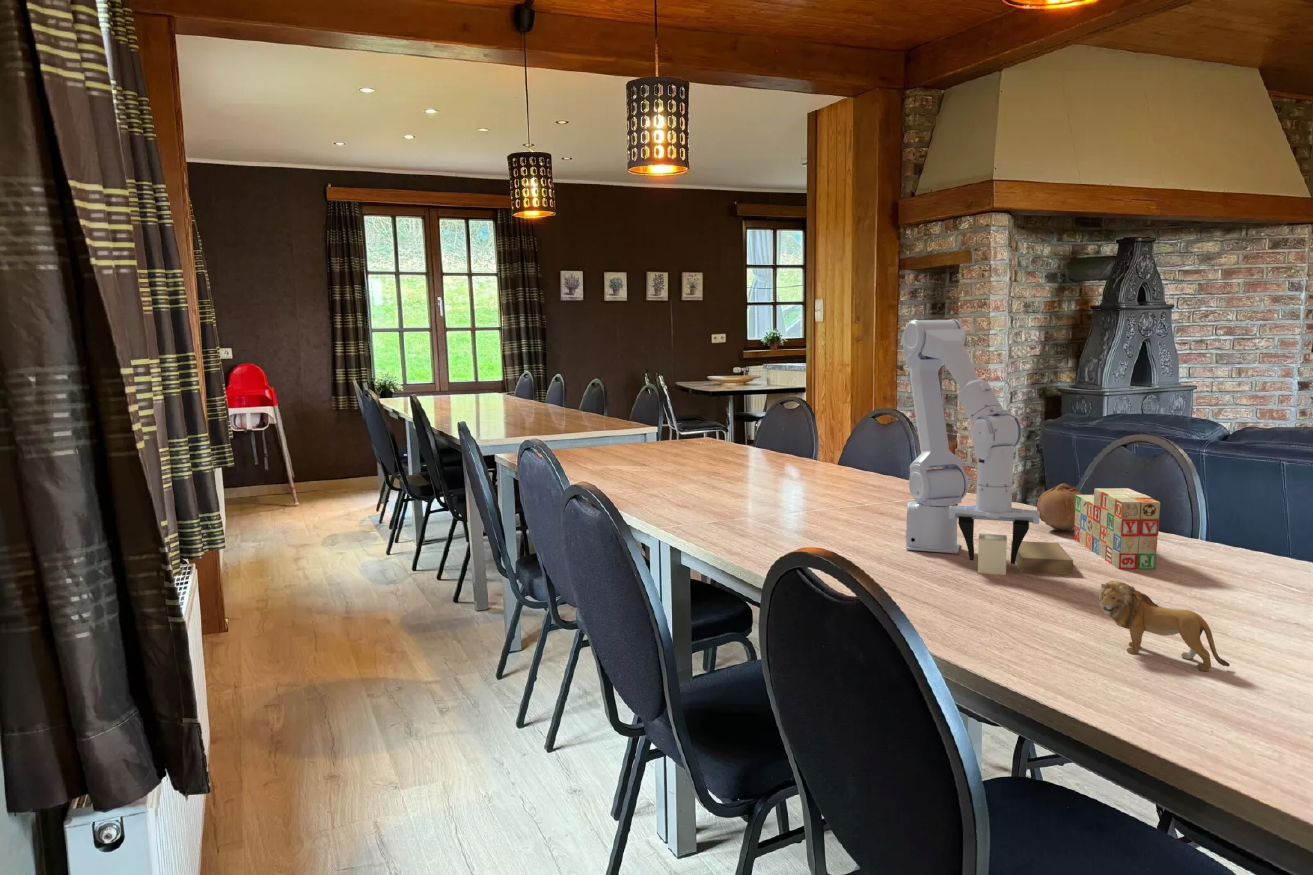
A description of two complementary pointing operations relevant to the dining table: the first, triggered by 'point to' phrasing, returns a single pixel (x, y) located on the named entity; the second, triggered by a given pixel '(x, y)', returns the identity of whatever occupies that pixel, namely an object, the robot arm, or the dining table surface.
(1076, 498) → the stack of blocks
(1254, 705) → the dining table surface
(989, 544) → the cream block
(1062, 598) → the dining table surface
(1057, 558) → the tan block
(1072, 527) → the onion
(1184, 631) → the lion figurine
